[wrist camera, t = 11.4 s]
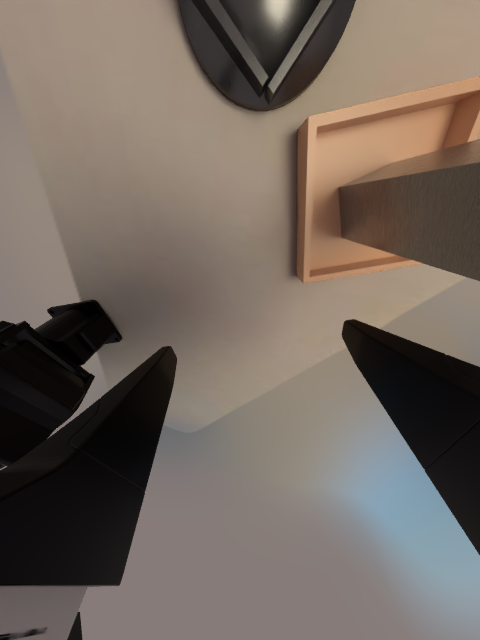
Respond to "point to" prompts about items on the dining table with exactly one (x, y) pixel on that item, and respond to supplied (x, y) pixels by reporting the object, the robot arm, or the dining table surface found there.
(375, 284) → the dining table surface
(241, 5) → the socket cup
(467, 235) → the strut
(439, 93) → the tray
